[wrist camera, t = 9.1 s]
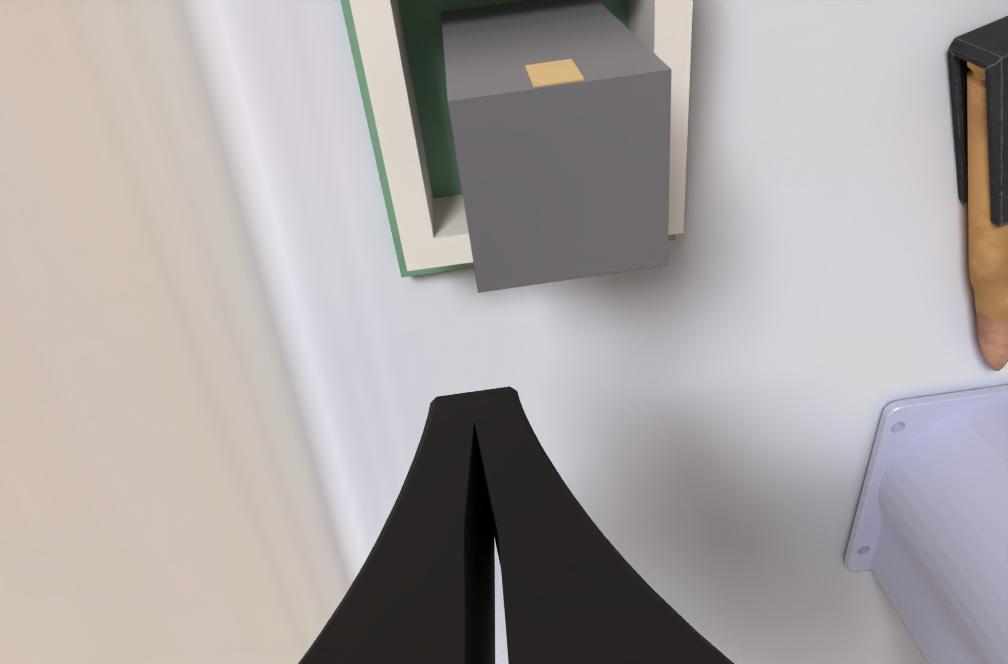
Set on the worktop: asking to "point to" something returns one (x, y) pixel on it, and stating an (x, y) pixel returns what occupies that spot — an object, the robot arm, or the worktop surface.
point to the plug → (557, 141)
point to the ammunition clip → (984, 174)
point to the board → (427, 125)
